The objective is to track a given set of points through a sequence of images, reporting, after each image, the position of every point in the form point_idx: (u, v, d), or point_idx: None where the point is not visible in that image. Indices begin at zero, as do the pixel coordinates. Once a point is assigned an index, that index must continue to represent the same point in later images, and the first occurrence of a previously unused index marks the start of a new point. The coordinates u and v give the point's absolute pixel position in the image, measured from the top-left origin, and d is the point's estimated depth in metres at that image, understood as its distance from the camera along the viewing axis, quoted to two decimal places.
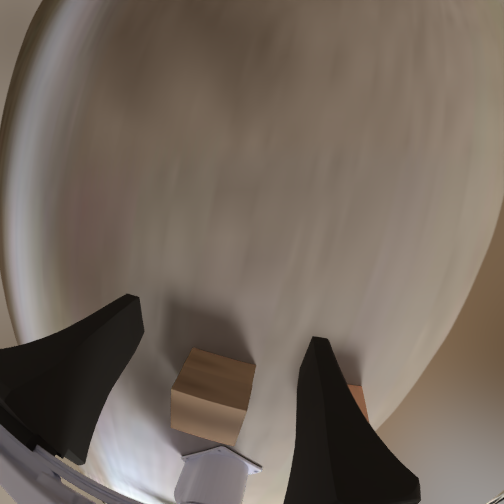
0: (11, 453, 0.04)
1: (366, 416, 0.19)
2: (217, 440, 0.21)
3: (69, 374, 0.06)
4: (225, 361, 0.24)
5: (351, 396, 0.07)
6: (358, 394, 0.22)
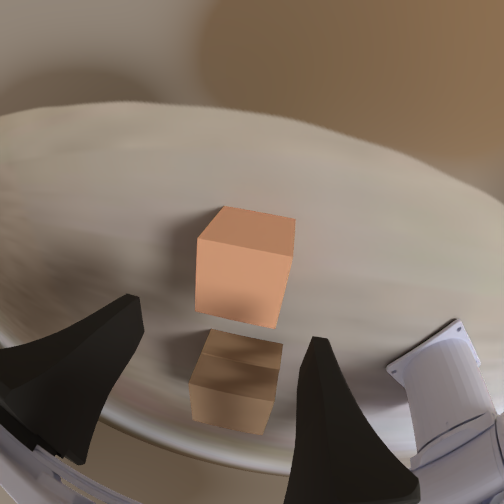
0: (11, 453, 0.04)
1: None
2: (266, 412, 0.18)
3: (69, 374, 0.06)
4: None
5: (351, 396, 0.07)
6: None
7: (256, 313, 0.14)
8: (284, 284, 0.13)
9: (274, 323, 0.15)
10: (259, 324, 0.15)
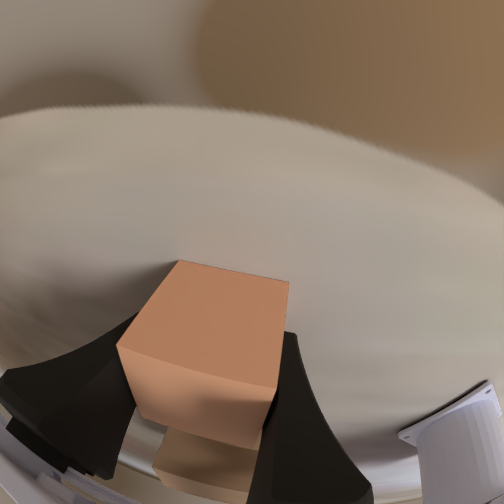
0: (11, 453, 0.04)
1: None
2: None
3: (101, 390, 0.06)
4: None
5: (310, 392, 0.07)
6: None
7: (224, 434, 0.08)
8: (263, 415, 0.07)
9: (250, 444, 0.08)
10: (230, 442, 0.09)
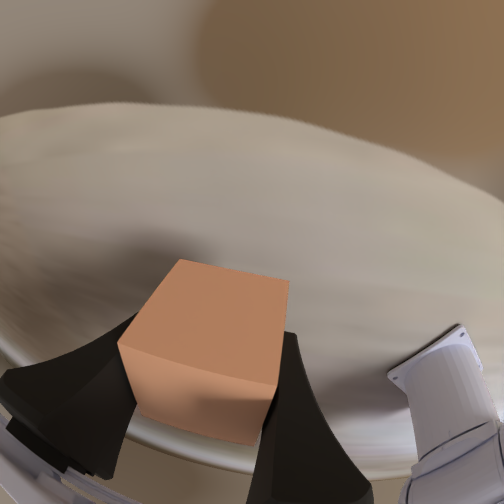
0: (11, 453, 0.04)
1: None
2: None
3: (101, 390, 0.06)
4: None
5: (310, 392, 0.07)
6: None
7: (224, 432, 0.08)
8: (264, 412, 0.07)
9: (251, 442, 0.08)
10: (230, 441, 0.09)
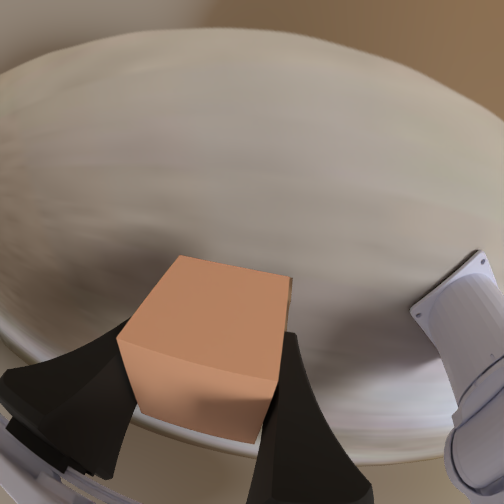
0: (11, 453, 0.04)
1: None
2: None
3: (101, 390, 0.06)
4: None
5: (310, 392, 0.07)
6: None
7: (224, 430, 0.08)
8: (264, 409, 0.07)
9: (252, 440, 0.08)
10: (231, 439, 0.09)
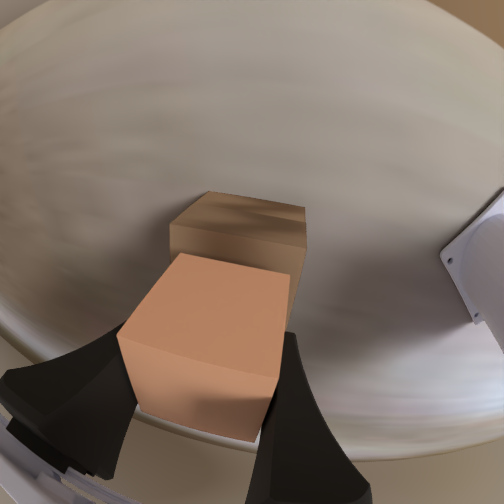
0: (11, 454, 0.04)
1: None
2: (292, 279, 0.12)
3: (102, 390, 0.06)
4: None
5: (308, 392, 0.07)
6: None
7: (224, 428, 0.08)
8: (265, 407, 0.07)
9: (252, 438, 0.08)
10: (231, 437, 0.09)
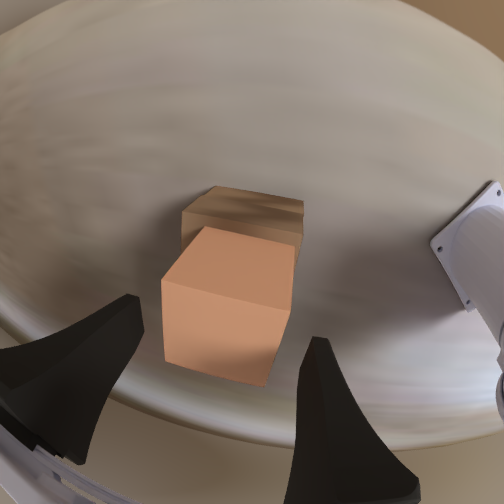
0: (11, 453, 0.04)
1: None
2: None
3: (69, 374, 0.06)
4: None
5: (351, 396, 0.07)
6: None
7: (240, 371, 0.11)
8: (277, 342, 0.10)
9: (262, 381, 0.11)
10: (244, 382, 0.11)
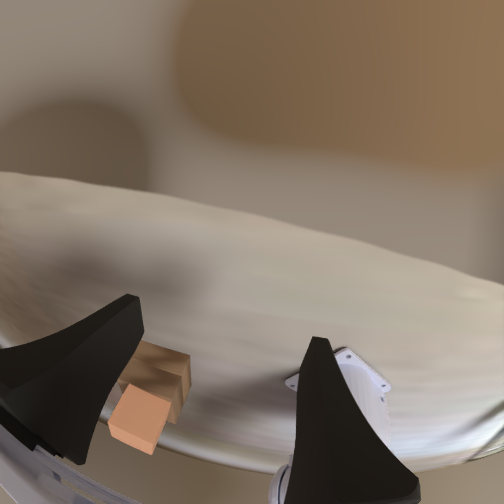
0: (11, 453, 0.04)
1: (111, 415, 0.19)
2: (170, 405, 0.23)
3: (69, 374, 0.06)
4: None
5: (351, 396, 0.07)
6: None
7: (141, 448, 0.20)
8: (151, 447, 0.19)
9: (150, 453, 0.21)
10: (143, 451, 0.21)
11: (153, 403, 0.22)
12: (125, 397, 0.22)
